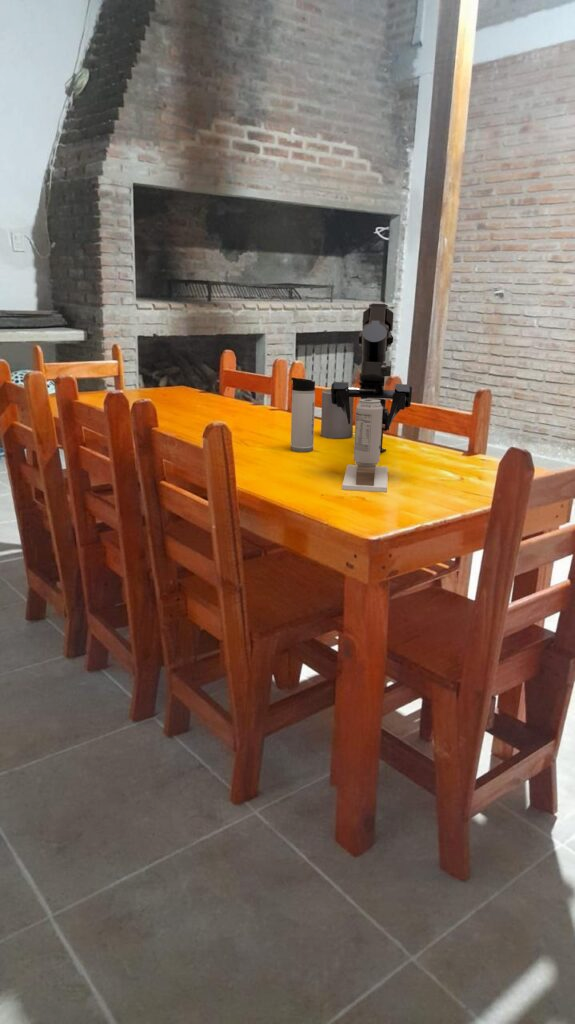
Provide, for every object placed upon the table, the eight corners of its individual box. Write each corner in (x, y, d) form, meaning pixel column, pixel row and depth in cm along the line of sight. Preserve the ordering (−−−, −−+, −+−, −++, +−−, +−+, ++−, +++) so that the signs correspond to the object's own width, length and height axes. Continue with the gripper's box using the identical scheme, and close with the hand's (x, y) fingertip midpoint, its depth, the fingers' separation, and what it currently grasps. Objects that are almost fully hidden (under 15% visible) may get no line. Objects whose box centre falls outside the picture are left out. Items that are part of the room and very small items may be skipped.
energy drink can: (384, 465, 167) (388, 401, 162) (362, 468, 164) (366, 402, 160) (369, 460, 172) (373, 397, 167) (348, 462, 169) (351, 398, 165)
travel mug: (286, 448, 202) (287, 376, 196) (307, 447, 204) (309, 375, 198) (295, 453, 196) (296, 379, 190) (316, 451, 199) (319, 378, 193)
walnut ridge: (359, 466, 179) (360, 454, 178) (375, 467, 178) (376, 455, 177) (355, 484, 162) (356, 471, 161) (373, 485, 161) (374, 472, 160)
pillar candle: (334, 431, 227) (336, 383, 222) (359, 436, 220) (360, 387, 216) (314, 436, 220) (315, 386, 216) (338, 440, 214) (339, 390, 209)
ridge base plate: (347, 468, 180) (347, 464, 180) (387, 470, 179) (387, 466, 179) (342, 489, 161) (342, 485, 161) (386, 492, 160) (387, 487, 160)
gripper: (333, 346, 167) (327, 401, 160) (414, 349, 165) (412, 405, 158) (334, 376, 177) (329, 429, 170) (411, 379, 175) (409, 433, 168)
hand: (369, 424), depth 166 cm, fingers open, 9 cm apart
